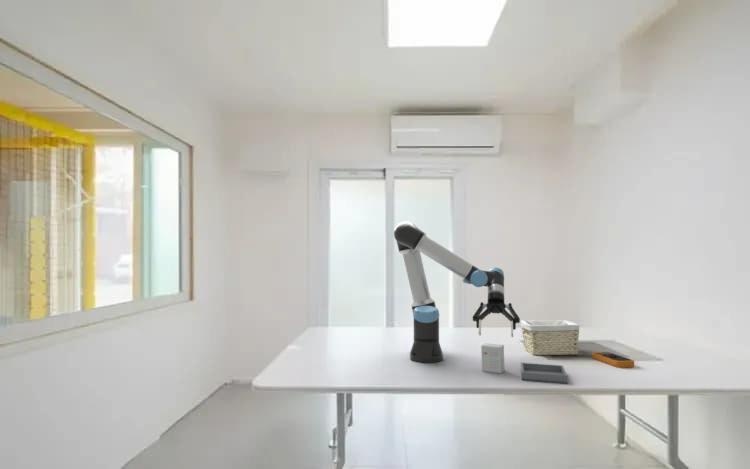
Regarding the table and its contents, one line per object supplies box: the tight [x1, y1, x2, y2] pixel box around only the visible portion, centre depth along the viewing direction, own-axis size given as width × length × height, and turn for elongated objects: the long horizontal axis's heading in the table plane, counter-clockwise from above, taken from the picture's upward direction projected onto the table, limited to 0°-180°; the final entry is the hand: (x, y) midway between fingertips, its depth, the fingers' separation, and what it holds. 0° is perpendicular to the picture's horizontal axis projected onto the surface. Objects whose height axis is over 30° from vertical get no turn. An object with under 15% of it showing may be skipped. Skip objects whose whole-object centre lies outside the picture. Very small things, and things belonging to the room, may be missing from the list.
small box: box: [480, 342, 505, 374], centre depth 178 cm, size 8×6×10 cm
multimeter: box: [591, 351, 635, 369], centre depth 191 cm, size 9×18×3 cm, turn 9°
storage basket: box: [520, 319, 580, 356], centre depth 212 cm, size 24×16×15 cm
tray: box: [520, 362, 569, 385], centre depth 169 cm, size 16×15×3 cm
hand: (495, 334), depth 187 cm, fingers open, 13 cm apart
